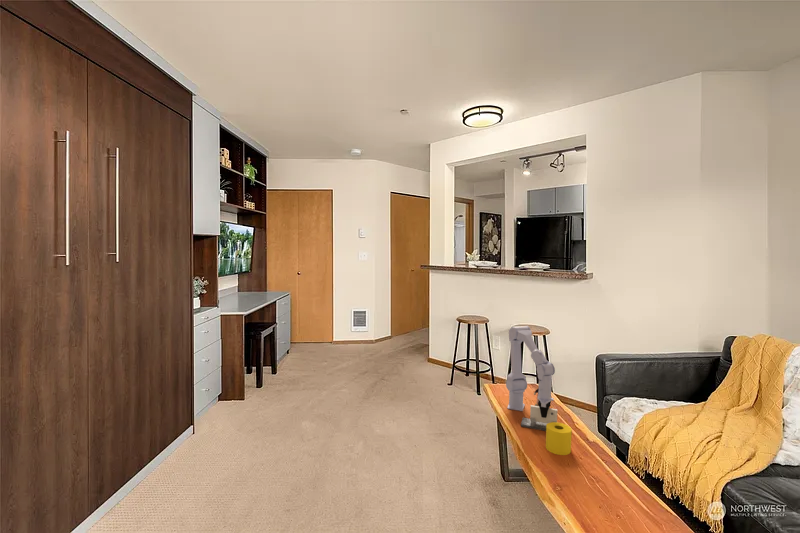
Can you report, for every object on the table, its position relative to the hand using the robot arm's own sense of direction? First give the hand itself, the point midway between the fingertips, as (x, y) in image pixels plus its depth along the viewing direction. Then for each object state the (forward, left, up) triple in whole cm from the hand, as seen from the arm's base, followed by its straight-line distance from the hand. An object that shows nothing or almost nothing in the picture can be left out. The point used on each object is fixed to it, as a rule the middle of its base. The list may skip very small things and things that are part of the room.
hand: (543, 416), depth 191 cm
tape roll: (+19, +7, -5) cm, 21 cm away
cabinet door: (0, 0, -3) cm, 3 cm away
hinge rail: (0, 0, -5) cm, 5 cm away
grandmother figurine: (-26, -3, -5) cm, 27 cm away
